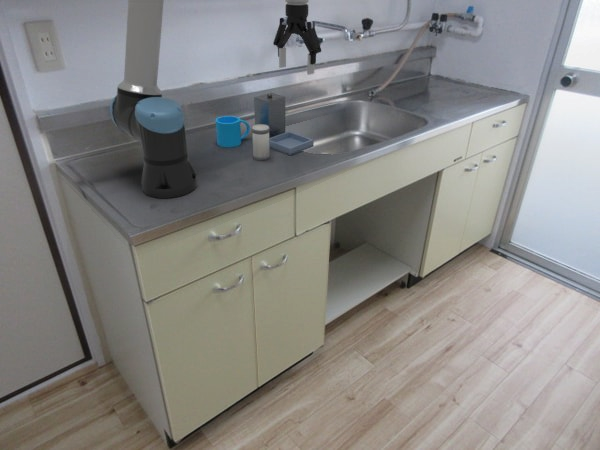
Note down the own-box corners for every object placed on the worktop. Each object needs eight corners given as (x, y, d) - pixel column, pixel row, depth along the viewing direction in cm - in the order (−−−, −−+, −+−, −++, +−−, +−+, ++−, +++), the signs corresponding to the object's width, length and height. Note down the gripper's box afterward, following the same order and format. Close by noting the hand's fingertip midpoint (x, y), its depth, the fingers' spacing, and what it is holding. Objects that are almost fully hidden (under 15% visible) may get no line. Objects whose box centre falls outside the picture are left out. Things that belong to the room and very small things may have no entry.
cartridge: (261, 161, 143) (260, 131, 138) (249, 157, 147) (248, 127, 141) (273, 157, 147) (272, 127, 142) (261, 152, 150) (261, 122, 145)
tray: (290, 155, 148) (290, 148, 147) (265, 146, 155) (265, 139, 153) (313, 146, 155) (313, 139, 154) (289, 137, 162) (289, 131, 160)
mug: (223, 149, 152) (221, 125, 148) (213, 141, 158) (211, 118, 154) (255, 142, 158) (254, 119, 153) (244, 135, 163) (243, 112, 159)
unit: (269, 141, 158) (268, 99, 150) (255, 136, 162) (254, 94, 154) (286, 135, 163) (285, 94, 156) (272, 130, 167) (271, 90, 160)
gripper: (333, 6, 144) (330, 74, 155) (278, -1, 158) (278, 63, 170) (318, 7, 139) (315, 78, 150) (262, 0, 154) (264, 66, 165)
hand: (296, 70), depth 160 cm, fingers open, 13 cm apart
